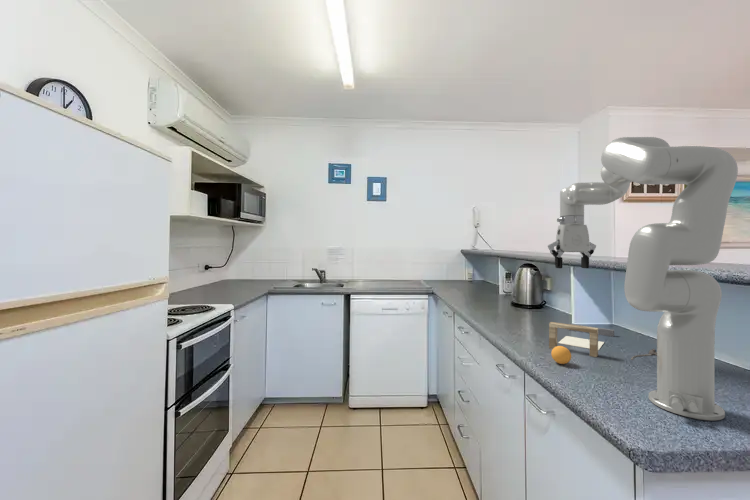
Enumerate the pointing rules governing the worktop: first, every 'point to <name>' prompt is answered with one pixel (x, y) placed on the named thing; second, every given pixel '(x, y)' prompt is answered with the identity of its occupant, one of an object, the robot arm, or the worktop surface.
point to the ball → (561, 354)
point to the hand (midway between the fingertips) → (571, 268)
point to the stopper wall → (600, 331)
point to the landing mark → (578, 342)
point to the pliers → (651, 352)
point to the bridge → (592, 331)
